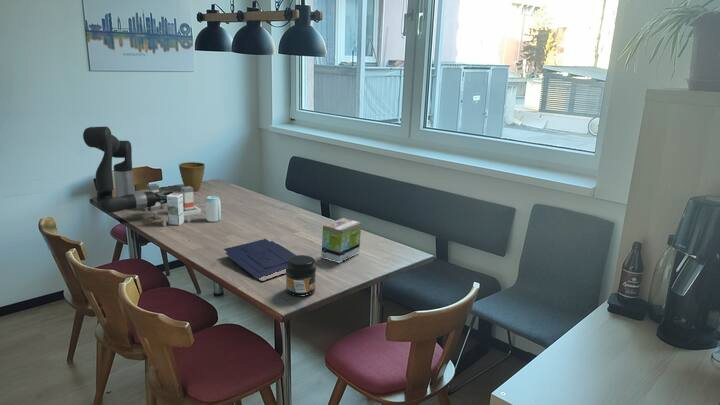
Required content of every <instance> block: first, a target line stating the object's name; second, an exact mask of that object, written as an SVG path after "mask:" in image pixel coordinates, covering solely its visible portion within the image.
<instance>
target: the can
mask: <svg viewBox="0 0 720 405" xmlns="http://www.w3.org/2000/svg"><path fill="white" fill-rule="evenodd" d="M221 209H222V208H221V199H220V197H219V196H217V195H209V196H207V197H206V198H205V220H206V221H208V222H210V223H217V222H219V221H220V220H222V215H221V211H222V210H221Z"/></svg>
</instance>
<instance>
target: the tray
mask: <svg viewBox="0 0 720 405" xmlns="http://www.w3.org/2000/svg"><path fill="white" fill-rule="evenodd" d="M183 213H184V218H186V216H189V217H192V216H199V215H202V209H201V208H199V207H197V206H196V205H194V210H191V211H185V212H183Z"/></svg>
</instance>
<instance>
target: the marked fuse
mask: <svg viewBox="0 0 720 405" xmlns="http://www.w3.org/2000/svg"><path fill="white" fill-rule="evenodd" d="M180 194H183V212H185V211H191V210H194V206H195V204H194V203H195V202H194V200H195V199H194V192H193V187H191V186H180Z"/></svg>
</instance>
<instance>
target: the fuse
mask: <svg viewBox="0 0 720 405" xmlns="http://www.w3.org/2000/svg"><path fill="white" fill-rule="evenodd" d="M149 191H152V192H153V193H154V192H160V185H159V184H157V183H151V184H146V192H149ZM148 211H151V212H156V211H161V205H160V203H159V202H156V204H155V206H152V207H148Z"/></svg>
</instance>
